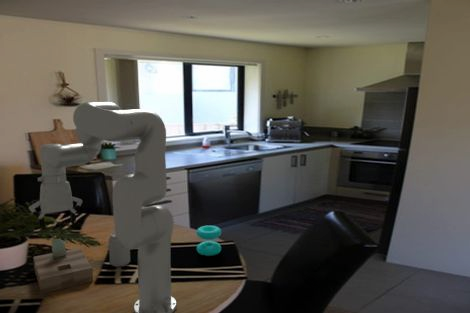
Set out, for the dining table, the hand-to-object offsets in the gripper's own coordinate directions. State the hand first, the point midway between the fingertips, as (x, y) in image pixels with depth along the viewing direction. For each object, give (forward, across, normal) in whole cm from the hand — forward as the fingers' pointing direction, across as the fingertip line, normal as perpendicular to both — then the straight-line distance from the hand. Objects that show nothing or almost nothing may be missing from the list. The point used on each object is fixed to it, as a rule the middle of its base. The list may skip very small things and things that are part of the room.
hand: (58, 226), depth 138 cm
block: (+17, 0, -4) cm, 17 cm away
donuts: (+18, +54, -13) cm, 58 cm away
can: (+17, +20, -5) cm, 27 cm away
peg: (+16, 0, +1) cm, 16 cm away
